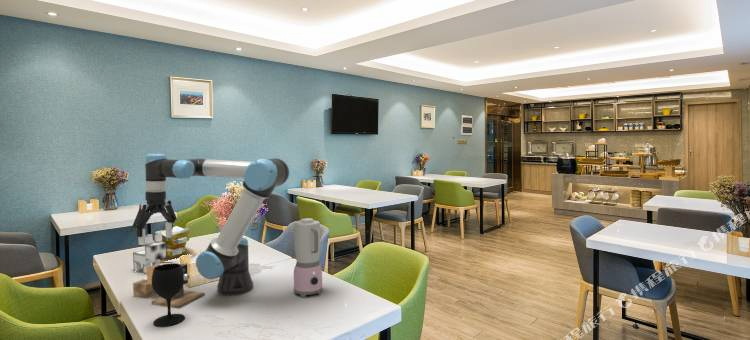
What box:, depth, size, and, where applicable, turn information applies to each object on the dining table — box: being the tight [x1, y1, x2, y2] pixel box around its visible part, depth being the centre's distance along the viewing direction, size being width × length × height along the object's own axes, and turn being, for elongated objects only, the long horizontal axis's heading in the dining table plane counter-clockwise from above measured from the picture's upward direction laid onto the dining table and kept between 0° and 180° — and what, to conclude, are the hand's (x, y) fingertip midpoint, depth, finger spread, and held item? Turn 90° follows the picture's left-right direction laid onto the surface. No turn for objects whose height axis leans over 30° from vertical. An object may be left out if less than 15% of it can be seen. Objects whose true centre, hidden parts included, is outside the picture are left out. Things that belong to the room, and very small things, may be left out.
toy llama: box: [132, 231, 166, 275], centre depth 202 cm, size 8×18×20 cm, turn 63°
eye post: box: [174, 263, 189, 299], centre depth 164 cm, size 2×8×13 cm, turn 163°
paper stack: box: [153, 225, 196, 263], centre depth 229 cm, size 25×25×17 cm
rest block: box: [132, 278, 157, 299], centre depth 170 cm, size 7×5×6 cm
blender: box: [293, 217, 323, 298], centre depth 170 cm, size 16×12×32 cm
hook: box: [146, 265, 191, 285], centre depth 165 cm, size 19×4×7 cm, turn 73°
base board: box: [151, 289, 206, 309], centre depth 164 cm, size 14×14×1 cm
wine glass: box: [152, 262, 186, 328], centre depth 144 cm, size 10×10×20 cm
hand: (155, 240), depth 167 cm, fingers open, 13 cm apart
